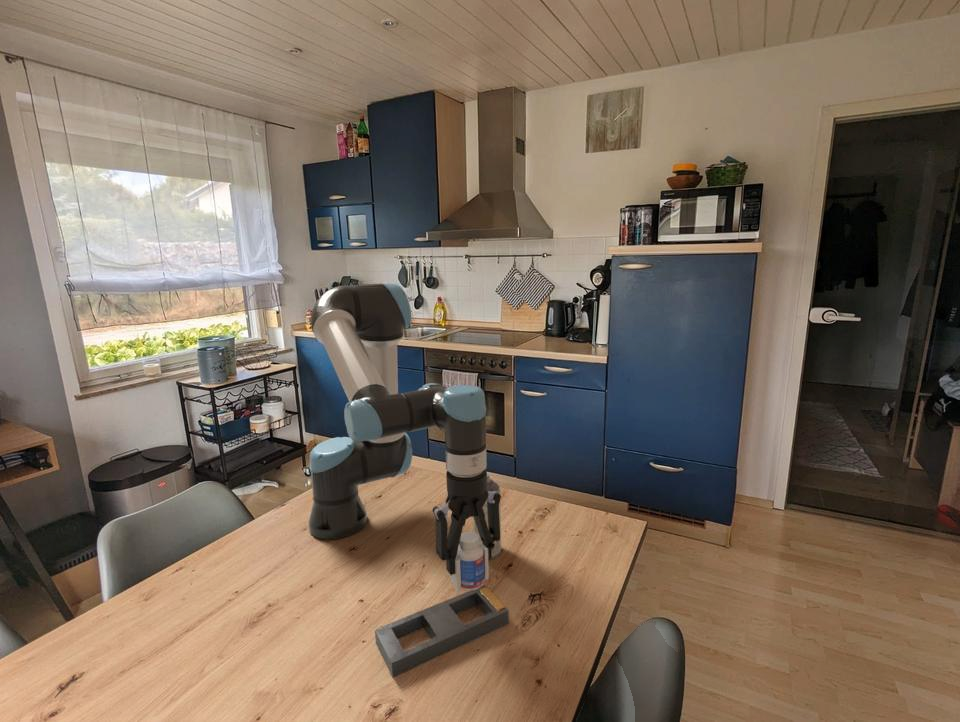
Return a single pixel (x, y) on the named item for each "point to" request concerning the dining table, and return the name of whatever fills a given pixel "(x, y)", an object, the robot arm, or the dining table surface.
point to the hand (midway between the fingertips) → (470, 580)
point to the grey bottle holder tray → (440, 629)
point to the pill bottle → (471, 561)
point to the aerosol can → (494, 486)
